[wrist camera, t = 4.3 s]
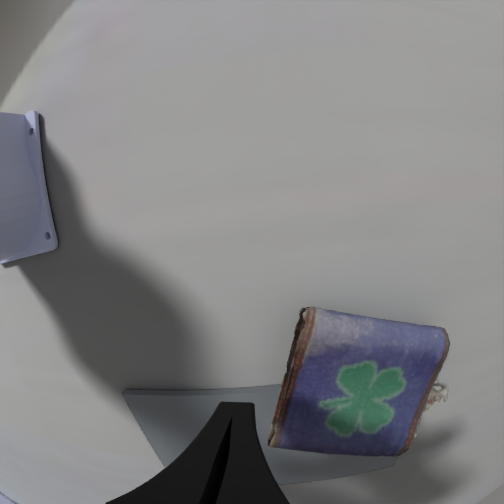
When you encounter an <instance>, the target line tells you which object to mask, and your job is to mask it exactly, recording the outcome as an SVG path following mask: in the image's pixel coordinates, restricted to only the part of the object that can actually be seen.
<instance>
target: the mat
mask: <svg viewBox="0 0 504 504" xmlns="http://www.w3.org/2000/svg"><path fill="white" fill-rule="evenodd" d="M280 388H281V384H277V385H267V386H257V387H245V388H231V389H211V390H134V389H125V390H124V392H123V396H124V398H125V400H126V402H127V404H128V406H129V408H130V410H131V412H132V414H133V415H134V417H135V419H136V421H137V423H138V424H139V426H140V428H141V430H142V431H143V433H144V435H145V437H146V438H147V440H148V442H149V443H150V445H151V447H152V448H153V450H154V451H155V453H156V455H157V456H158V458H159V459H160V461H161V462H162V464H163V465H164V467H165V468H166V467H167V466H168V465H169V464H171V463H172V462H173V461H174V460H175V459H176V458H177V457H178V456H179V455H180V454H181V453H182V452H183V451H184V450H185V449H186V448H187V447H188V446H189V444H190V443H191V442H192V441H193V440H194V439H195V438H196V436H197V435H198V434H199V432H200V431H201V430H202V428H203V427H204V426H205V424H206V423H207V422H208V420H209V419H210V417H211V416H212V414H213V413H214V411H215V409H216V408H217V406H218V404H219V403H220V402H221V401H224V402H252V403H253V404H255V417H256V430H257V434H258V437H259V441H260V444H261V447H262V450H263V453H264V456H265V458H266V461H267V463H268V466H269V468H270V470H271V472H272V474H273V476H274V478H275V480H276V482H277V484H278V485H282V484H294V483H304V482H312V481H320V480H327V479H333V478H339V477H345V476H350V475H355V474H360V473H365V472H369V471H374V470H378V469H382V468H386V467H390V466H393V465H394V464H395V460H396V457H397V456H395V457H391V456H388V457H387V456H378V457H376V456H374V457H373V456H361V455H360V456H354V455H336V454H329V455H328V454H322V453H316V452H305V451H298V450H288V449H281V448H274V447H269V446H268V445H267V443H268V437H269V432H270V430H271V422H272V419H273V415H274V411H275V408H276V404H277V401H278V397H279V393H280ZM267 446H268V447H267Z"/></svg>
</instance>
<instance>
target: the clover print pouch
mask: <svg viewBox="0 0 504 504" xmlns="http://www.w3.org/2000/svg"><path fill="white" fill-rule="evenodd" d="M299 315H300V319H299V321H298V323H297V325H296V327H295V332H294V334H295V336H294V340H293V343H292V346H291V350H290V355H289V358H288V362H287V372H286V374H285V375H284V380H283V382H282V384H281V388H280V393H279V397H278V401H277V404H276V408H275V411H274V415H273V419H272V422H271V430H270V432H269V437H268V443H267V445H268V446H269V447H274V448H281V449H288V450H298V451H305V452H316V453H322V454H328V455H329V454H336V455H354V456H360V455H361V456H373V457H374V456H376V457H378V456H387V457H388V456H391V457H395V456H398V455H401V454H402V453H404V452H406V451H407V450H408V449H409V446H410V445H411V444H412V442H413V440H414V439H415V438H416V437H417V434H416V433H415V432H416V429H417V425H418V424H419V420H420V419H421V414H422V412H425V411H426V410H428V409H429V407H430V406H431V405H432V404H433V403H434V402H435V401H437V402H438V401H439V402H440V400H441V398H442V396H443V397H444V402H445V401H446V400H447V394H448V388H447V387H445V388H443V389H442V387H441V386H439V385H434V384H436V383H437V382H438V381H437V380H436V379H437V375H438V374H439V372H440V370H441V367H442V365H443V363H444V361H445V359H446V357H447V354H448V351H449V346H450V341H449V338H448V334H447V332H446V330H445V329H444V328H441V327H436V326H428V325H418V324H412V323H405V322H398V321H390V320H385V319H377V318H371V317H365V316H359V315H353V314H347V313H342V312H336V311H332V310H325V309H321V308H316V307H307V308H302V309H301V310H300V314H299ZM268 446H267V447H268Z"/></svg>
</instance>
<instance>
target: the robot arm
mask: <svg viewBox="0 0 504 504" xmlns="http://www.w3.org/2000/svg"><path fill="white" fill-rule="evenodd" d="M33 130H34V131H33ZM32 131H33V134H32ZM49 233H50V237H49ZM57 247H58V240H57V236H56V232H55V228H54V223H53V219H52V214H51V209H50V204H49V199H48V193H47V188H46V182H45V175H44V168H43V161H42V153H41V143H40V133H39V119H38V113H37V111H30V112H28V113H27V114H25V115H22V114H13V113H4V112H0V264H2V263H6V262H10V261H14V260H17V259H21V258H25V257H29V256H33V255H37V254H41V253H45V252H49V251H52V250H55V249H56V248H57ZM0 504H16V503H15V502H13V501H12V500H10V499H9V498H8V497H6V496H5V495H3V494H2V493H0ZM106 504H290V503H289V502H288V500H287V499H286V497H285V495H284V494H283V492H282V491H281V489H280V487H279V486H278V484H277V482H276V480H275V478H274V476H273V474H272V472H271V470H270V468H269V466H268V463H267V461H266V458H265V456H264V453H263V450H262V447H261V444H260V441H259V437H258V434H257V430H256V417H255V404H253V403H252V402H224V401H221V402H220V403H219V404H218V406H217V408H216V409H215V411H214V413H213V414H212V416H211V417H210V419H209V420H208V422H207V423H206V424H205V426H204V427H203V428H202V430H201V431H200V432H199V434H198V435H197V436H196V438H195V439H194V440H193V441H192V442H191V443H190V444H189V446H188V447H187V448H186V449H185V450H184V451H183V452H182V453H181V454H180V455H179V456H178V457H177V458H176V459H175V460H174V461H173V462H172V463H171V464H169V465H168V466H167V467H166V468H165V469H163V470H162V471H161V472H160V473H158V474H157V475H156V476H154V477H153V478H152V479H150V480H149V481H147V482H145V483H144V484H142V485H141V486H139V487H137V488H136V489H134V490H132V491H130V492H128V493H126V494H124V495H122V496H120V497H118V498H116V499H113V500H111V501H109V502H106Z"/></svg>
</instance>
